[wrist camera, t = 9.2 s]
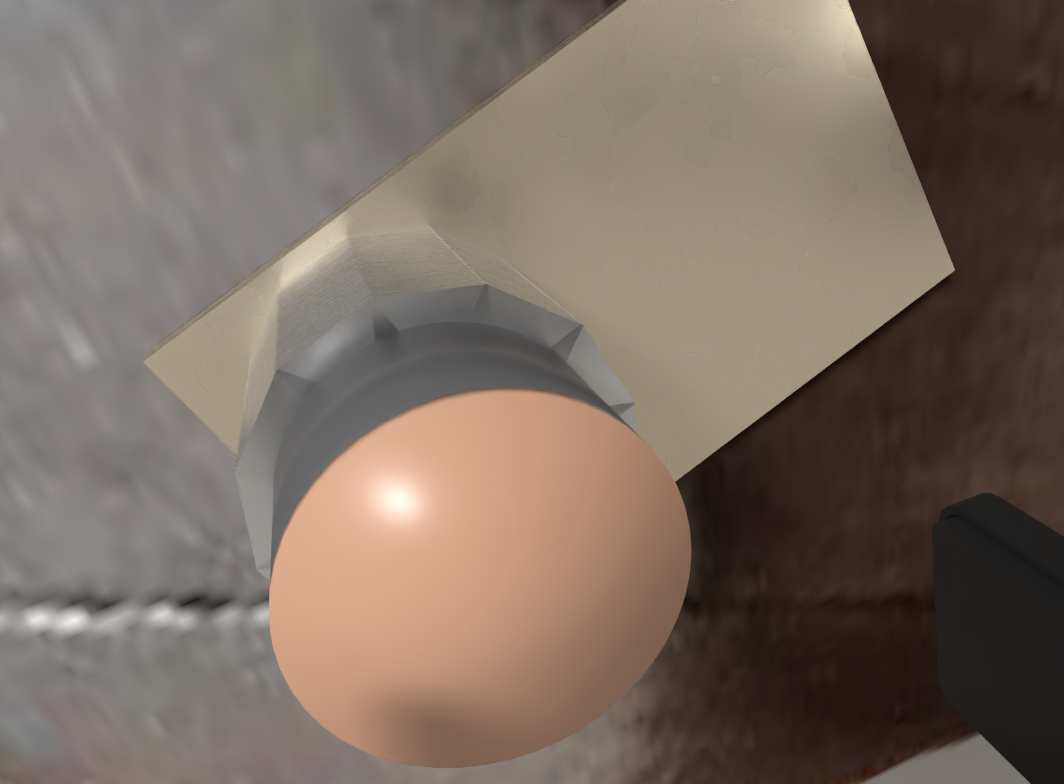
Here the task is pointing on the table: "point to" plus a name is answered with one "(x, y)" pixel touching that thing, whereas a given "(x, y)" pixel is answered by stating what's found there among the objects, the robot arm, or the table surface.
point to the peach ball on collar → (467, 549)
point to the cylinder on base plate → (606, 235)
